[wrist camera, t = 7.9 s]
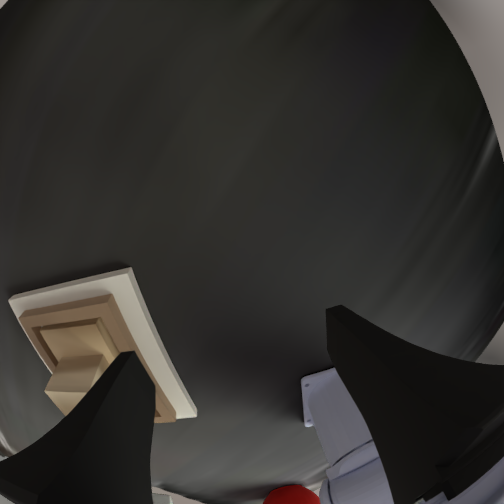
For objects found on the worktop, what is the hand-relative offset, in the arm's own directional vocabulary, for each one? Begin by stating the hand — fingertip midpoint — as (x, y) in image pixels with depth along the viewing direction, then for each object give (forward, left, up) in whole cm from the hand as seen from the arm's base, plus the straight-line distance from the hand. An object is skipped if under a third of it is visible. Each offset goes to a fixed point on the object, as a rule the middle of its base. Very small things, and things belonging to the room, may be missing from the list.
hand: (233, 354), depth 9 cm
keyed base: (-7, +13, -9) cm, 18 cm away
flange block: (-7, +13, -8) cm, 17 cm away
